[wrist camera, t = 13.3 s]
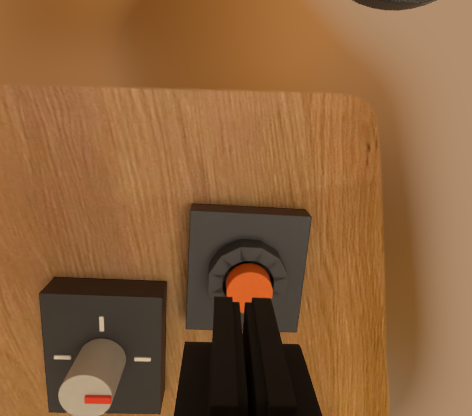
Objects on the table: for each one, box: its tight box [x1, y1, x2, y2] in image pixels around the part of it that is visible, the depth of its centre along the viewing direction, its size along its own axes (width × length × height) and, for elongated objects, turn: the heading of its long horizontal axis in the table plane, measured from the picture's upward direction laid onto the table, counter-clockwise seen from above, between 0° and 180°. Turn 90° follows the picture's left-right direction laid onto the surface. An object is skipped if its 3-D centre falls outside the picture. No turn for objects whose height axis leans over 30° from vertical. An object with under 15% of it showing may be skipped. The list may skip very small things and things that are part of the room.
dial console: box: [39, 277, 167, 414], centre depth 33 cm, size 12×10×3 cm
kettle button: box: [226, 263, 273, 313], centre depth 29 cm, size 4×4×2 cm
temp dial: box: [58, 338, 126, 416], centre depth 30 cm, size 4×4×5 cm
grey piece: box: [186, 204, 312, 332], centre depth 32 cm, size 11×10×4 cm
